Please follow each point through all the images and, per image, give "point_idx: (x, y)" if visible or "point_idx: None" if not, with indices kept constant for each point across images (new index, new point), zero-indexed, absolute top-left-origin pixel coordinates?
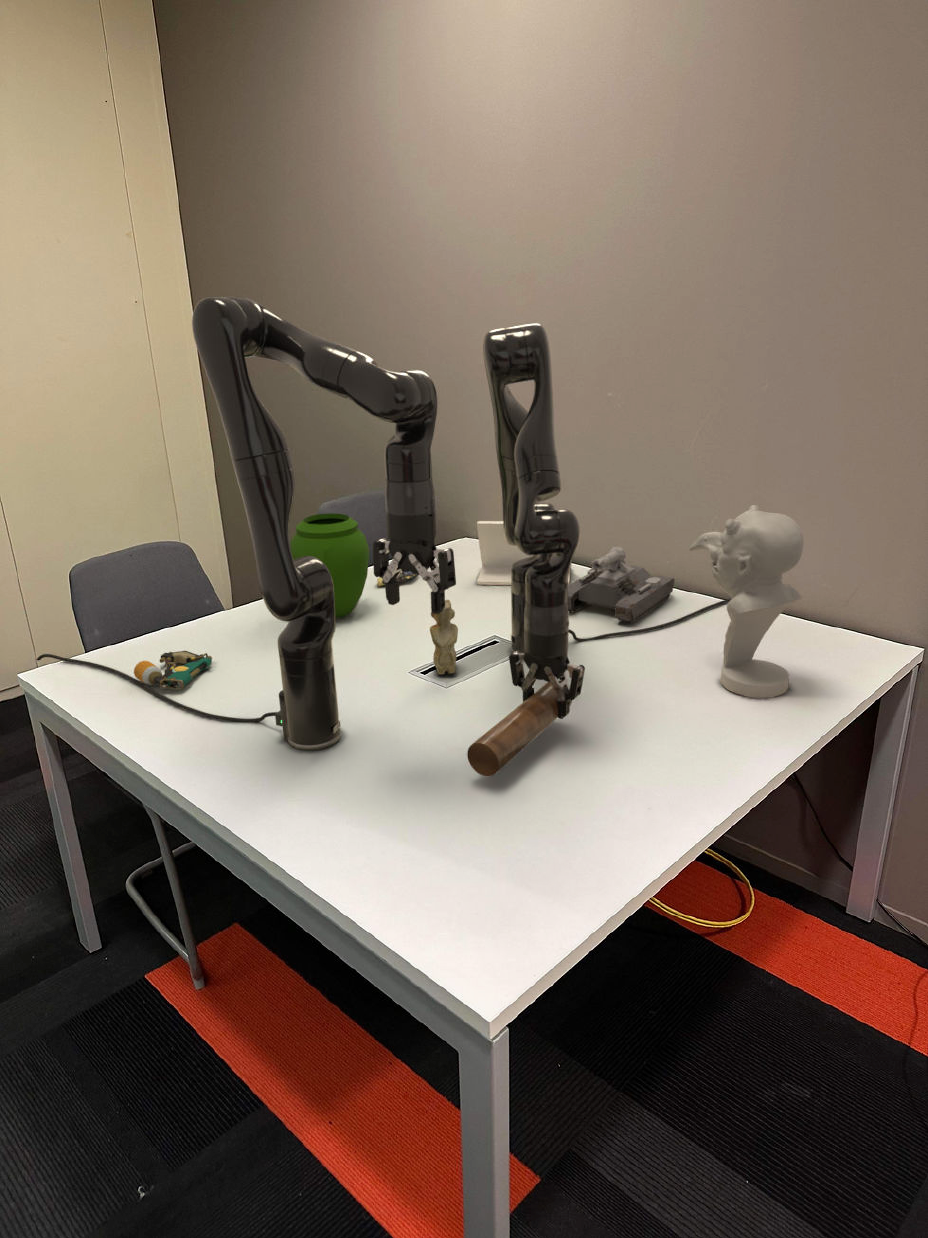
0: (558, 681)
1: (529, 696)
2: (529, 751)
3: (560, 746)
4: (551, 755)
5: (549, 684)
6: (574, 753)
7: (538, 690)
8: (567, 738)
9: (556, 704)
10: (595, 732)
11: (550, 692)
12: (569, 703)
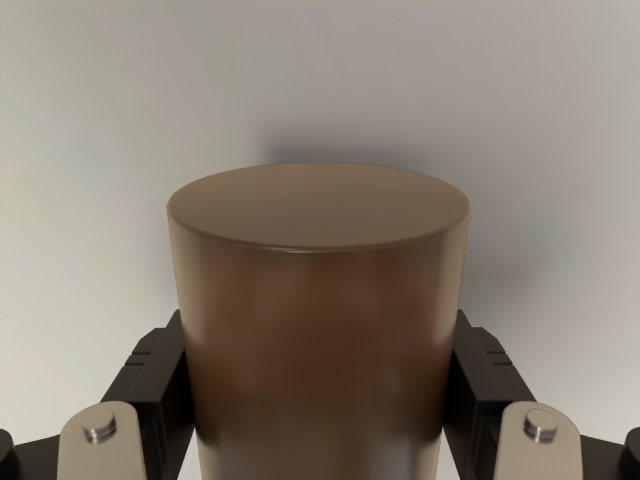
0: (336, 263)
1: (183, 436)
2: None
3: None
4: None
5: (280, 363)
6: (518, 368)
7: (235, 455)
8: None
9: (437, 451)
10: (557, 140)
11: (368, 474)
12: (524, 389)
